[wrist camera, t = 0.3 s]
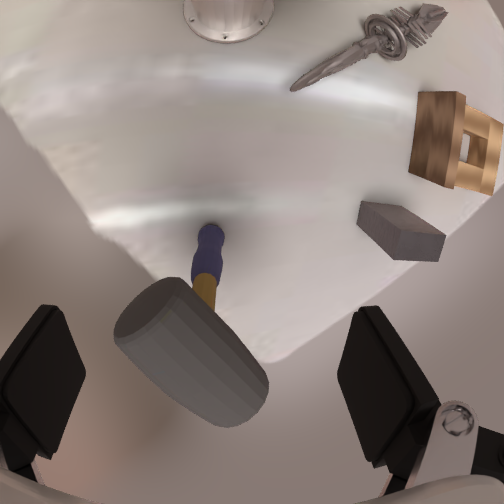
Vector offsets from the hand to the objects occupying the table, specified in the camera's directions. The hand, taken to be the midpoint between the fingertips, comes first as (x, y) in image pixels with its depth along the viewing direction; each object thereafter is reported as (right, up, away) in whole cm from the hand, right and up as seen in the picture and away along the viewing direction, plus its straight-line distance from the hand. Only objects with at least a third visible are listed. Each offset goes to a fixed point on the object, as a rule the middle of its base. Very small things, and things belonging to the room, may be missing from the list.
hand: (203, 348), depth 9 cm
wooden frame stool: (+37, +22, +32) cm, 54 cm away
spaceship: (+20, +35, +26) cm, 47 cm away
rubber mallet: (-5, +6, +37) cm, 38 cm away
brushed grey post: (+23, +9, +38) cm, 45 cm away
